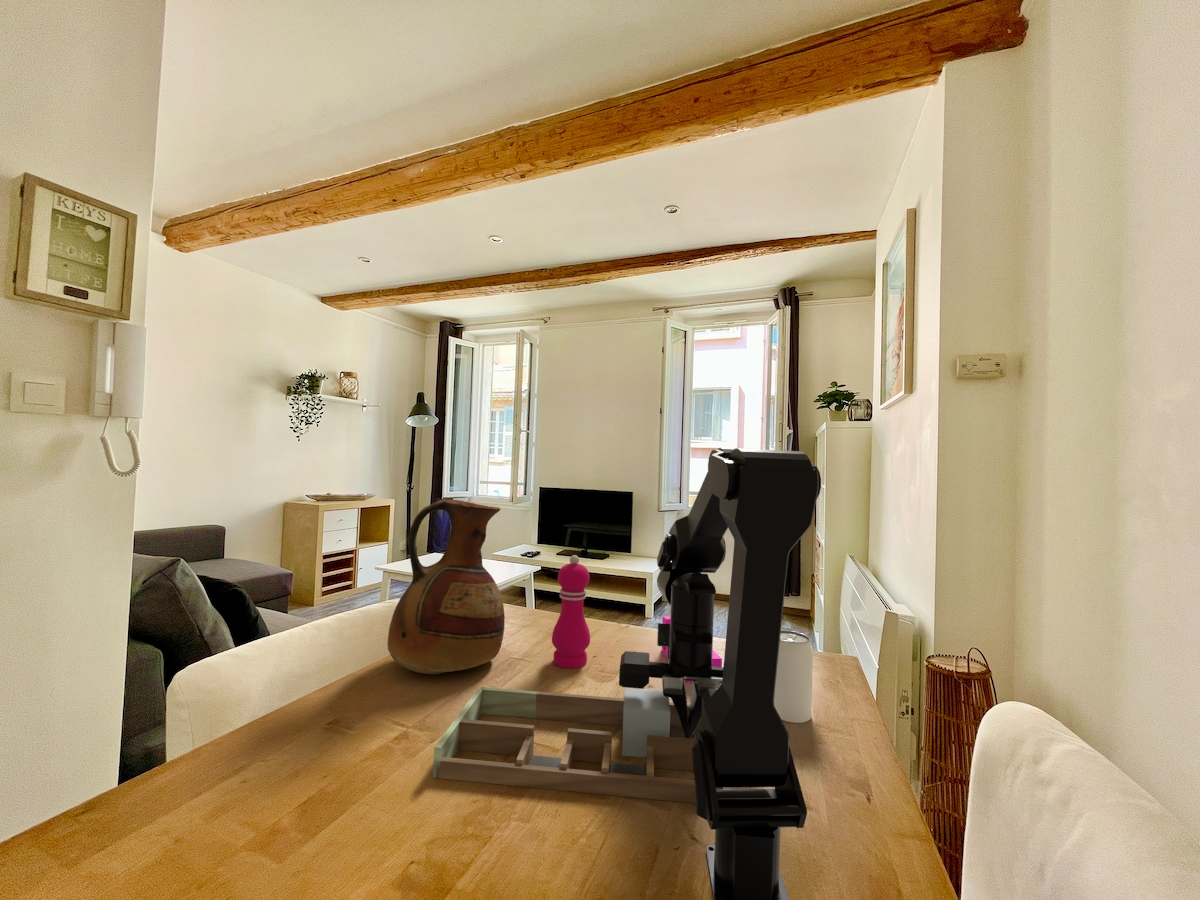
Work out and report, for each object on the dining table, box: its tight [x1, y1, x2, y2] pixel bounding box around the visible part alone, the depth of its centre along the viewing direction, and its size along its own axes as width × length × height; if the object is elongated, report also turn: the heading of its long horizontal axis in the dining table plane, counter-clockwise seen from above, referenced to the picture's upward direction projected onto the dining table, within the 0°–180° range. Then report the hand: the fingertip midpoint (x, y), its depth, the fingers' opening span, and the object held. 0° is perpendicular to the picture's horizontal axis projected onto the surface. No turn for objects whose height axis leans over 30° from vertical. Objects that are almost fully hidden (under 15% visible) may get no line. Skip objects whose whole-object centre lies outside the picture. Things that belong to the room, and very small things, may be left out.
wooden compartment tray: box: [432, 686, 724, 804], centre depth 66 cm, size 16×33×4 cm, turn 85°
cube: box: [621, 687, 671, 758], centre depth 68 cm, size 6×6×6 cm
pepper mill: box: [551, 554, 591, 670], centre depth 95 cm, size 7×7×20 cm
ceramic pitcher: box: [387, 498, 506, 675], centre depth 93 cm, size 20×20×30 cm
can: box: [774, 629, 814, 724], centre depth 78 cm, size 6×6×12 cm
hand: (687, 738), depth 68 cm, fingers closed
